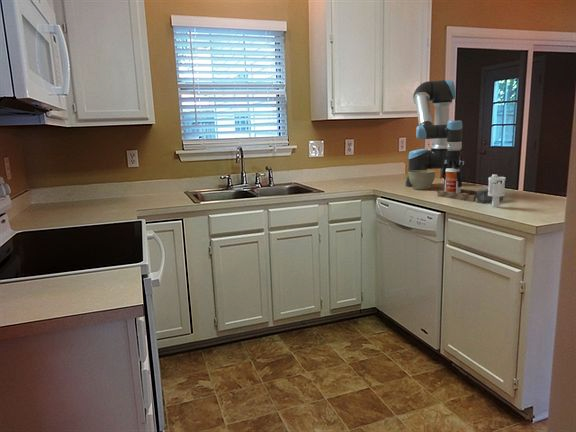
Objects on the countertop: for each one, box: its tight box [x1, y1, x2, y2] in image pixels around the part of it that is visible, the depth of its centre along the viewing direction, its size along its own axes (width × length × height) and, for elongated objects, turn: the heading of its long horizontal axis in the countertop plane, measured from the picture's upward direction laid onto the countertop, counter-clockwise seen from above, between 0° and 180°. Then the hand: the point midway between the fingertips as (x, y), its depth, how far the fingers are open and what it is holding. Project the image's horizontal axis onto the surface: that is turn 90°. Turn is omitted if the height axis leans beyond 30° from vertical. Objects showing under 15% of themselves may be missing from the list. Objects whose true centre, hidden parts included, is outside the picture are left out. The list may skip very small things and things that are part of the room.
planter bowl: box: [407, 169, 437, 191], centre depth 263 cm, size 16×16×11 cm
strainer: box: [487, 174, 506, 208], centre depth 199 cm, size 7×7×15 cm
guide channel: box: [437, 188, 504, 205], centre depth 225 cm, size 30×14×6 cm, turn 26°
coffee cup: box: [445, 167, 460, 193], centre depth 234 cm, size 8×8×15 cm
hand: (452, 191), depth 235 cm, fingers closed on coffee cup, 7 cm apart
